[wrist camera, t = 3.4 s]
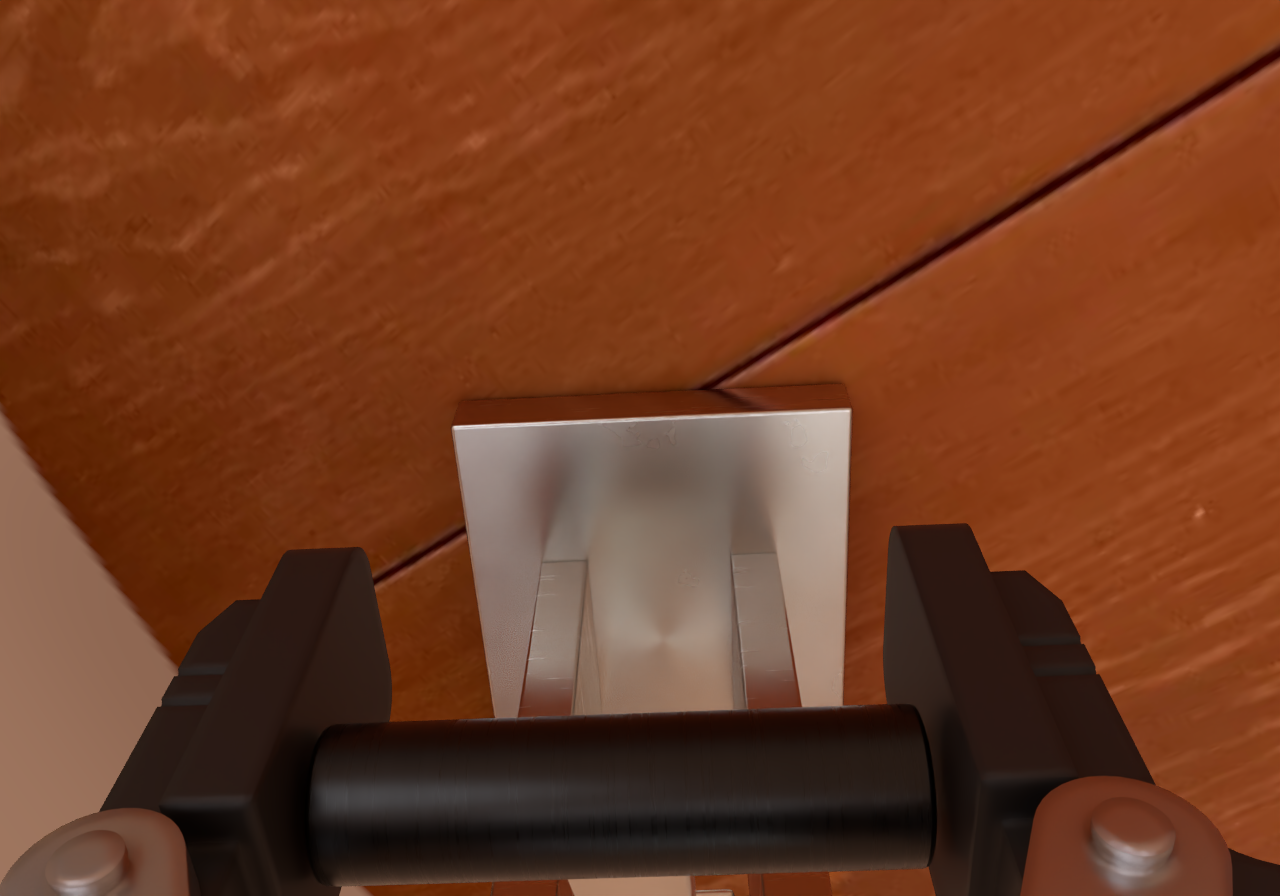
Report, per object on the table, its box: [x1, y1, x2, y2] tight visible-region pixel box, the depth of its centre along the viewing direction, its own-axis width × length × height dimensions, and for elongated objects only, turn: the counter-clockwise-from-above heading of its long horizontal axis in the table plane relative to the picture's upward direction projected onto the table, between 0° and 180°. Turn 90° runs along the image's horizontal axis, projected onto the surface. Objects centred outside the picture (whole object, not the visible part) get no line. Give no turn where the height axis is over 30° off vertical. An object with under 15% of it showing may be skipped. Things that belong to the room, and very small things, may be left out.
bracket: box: [451, 384, 853, 896], centre depth 22 cm, size 11×8×12 cm
